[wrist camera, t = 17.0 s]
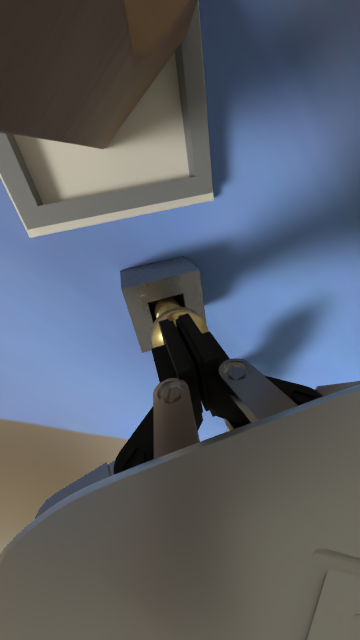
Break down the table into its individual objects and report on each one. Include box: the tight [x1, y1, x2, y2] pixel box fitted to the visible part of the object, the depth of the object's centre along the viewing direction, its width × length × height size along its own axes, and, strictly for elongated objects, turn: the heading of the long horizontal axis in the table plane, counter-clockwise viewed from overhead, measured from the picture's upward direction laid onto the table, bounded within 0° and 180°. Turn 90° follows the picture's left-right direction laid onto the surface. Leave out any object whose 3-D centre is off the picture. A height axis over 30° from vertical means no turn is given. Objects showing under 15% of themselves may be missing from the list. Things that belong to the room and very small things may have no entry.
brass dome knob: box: [150, 296, 208, 348], centre depth 15 cm, size 3×3×7 cm
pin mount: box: [120, 256, 206, 353], centre depth 17 cm, size 5×5×4 cm
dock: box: [0, 0, 214, 238], centre depth 11 cm, size 12×14×2 cm
